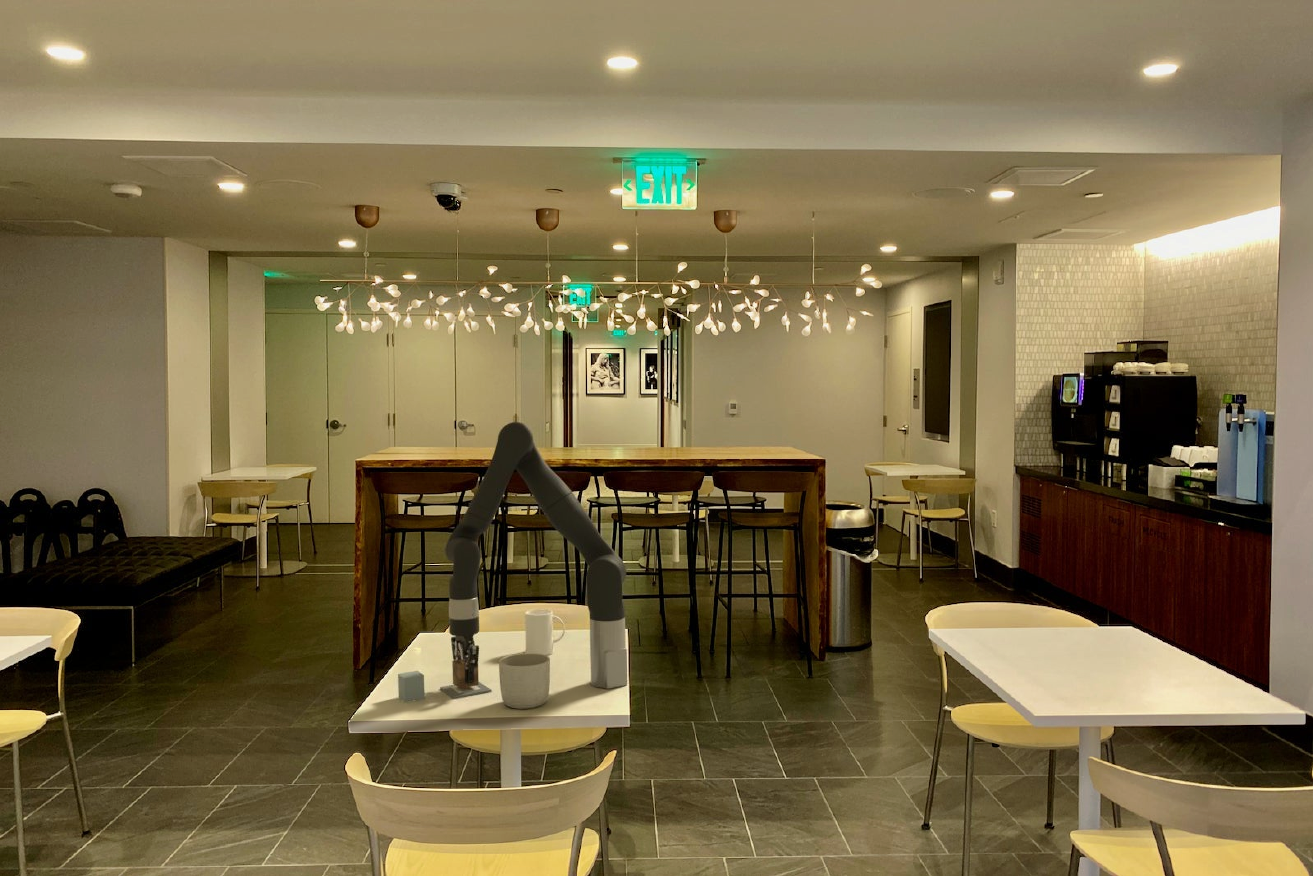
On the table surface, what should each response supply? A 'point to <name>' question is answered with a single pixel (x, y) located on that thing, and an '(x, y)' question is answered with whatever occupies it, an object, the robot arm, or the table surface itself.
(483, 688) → the pad
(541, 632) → the mug
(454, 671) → the walnut block
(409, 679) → the blue grey block
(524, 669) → the planter
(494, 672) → the table surface
